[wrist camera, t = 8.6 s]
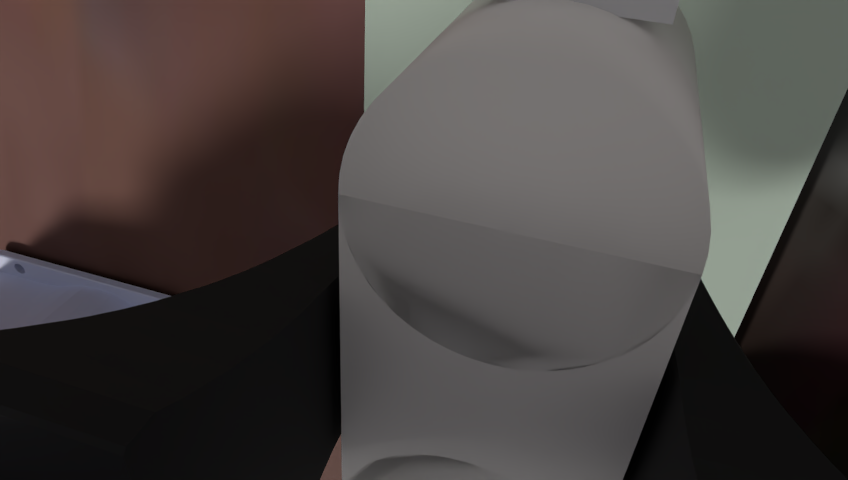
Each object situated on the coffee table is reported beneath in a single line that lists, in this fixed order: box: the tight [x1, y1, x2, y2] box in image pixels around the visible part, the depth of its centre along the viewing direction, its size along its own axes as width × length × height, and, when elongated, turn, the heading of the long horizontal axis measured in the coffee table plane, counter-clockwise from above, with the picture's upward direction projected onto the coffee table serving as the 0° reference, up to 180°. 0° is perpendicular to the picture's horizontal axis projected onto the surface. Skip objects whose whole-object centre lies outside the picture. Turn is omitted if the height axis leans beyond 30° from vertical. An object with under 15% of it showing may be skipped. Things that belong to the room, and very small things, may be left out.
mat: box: [364, 0, 848, 337], centre depth 18 cm, size 12×16×1 cm
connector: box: [338, 0, 711, 480], centre depth 10 cm, size 4×13×5 cm, turn 176°
